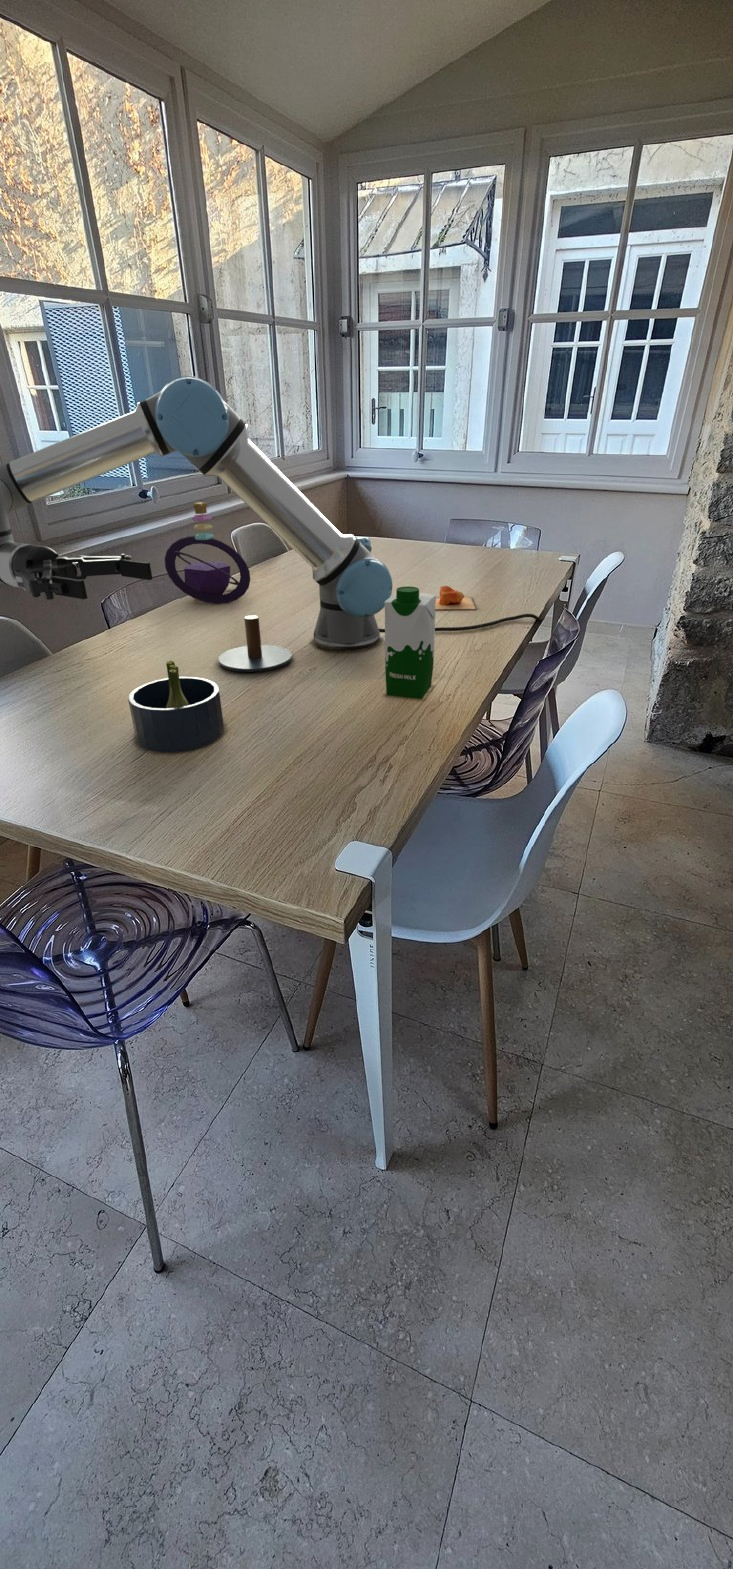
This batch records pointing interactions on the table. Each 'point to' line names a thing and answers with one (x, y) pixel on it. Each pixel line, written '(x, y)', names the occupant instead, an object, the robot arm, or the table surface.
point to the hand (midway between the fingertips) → (118, 580)
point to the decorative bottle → (206, 566)
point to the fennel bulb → (174, 687)
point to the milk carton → (409, 642)
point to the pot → (176, 715)
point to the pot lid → (254, 652)
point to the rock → (453, 600)
